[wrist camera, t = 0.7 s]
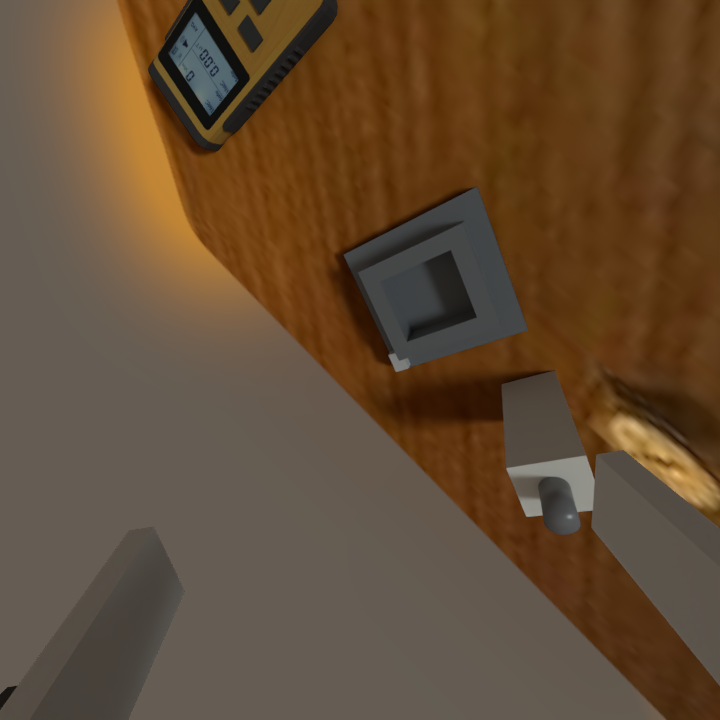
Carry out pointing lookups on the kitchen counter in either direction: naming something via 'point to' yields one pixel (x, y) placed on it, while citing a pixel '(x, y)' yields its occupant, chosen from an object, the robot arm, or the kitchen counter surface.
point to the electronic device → (233, 59)
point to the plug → (545, 453)
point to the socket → (438, 283)
